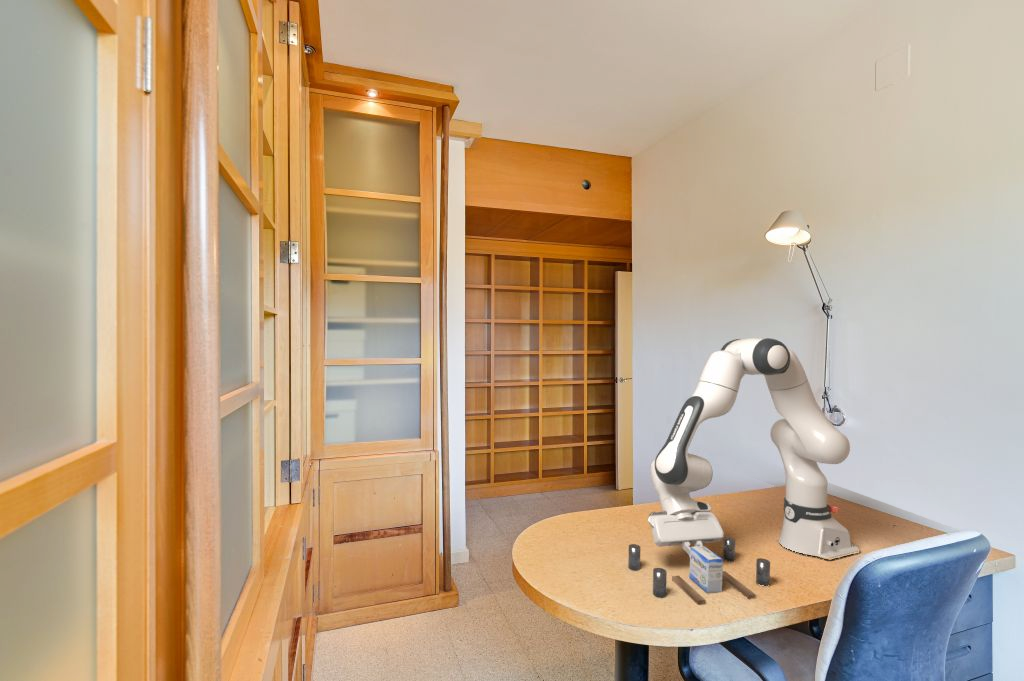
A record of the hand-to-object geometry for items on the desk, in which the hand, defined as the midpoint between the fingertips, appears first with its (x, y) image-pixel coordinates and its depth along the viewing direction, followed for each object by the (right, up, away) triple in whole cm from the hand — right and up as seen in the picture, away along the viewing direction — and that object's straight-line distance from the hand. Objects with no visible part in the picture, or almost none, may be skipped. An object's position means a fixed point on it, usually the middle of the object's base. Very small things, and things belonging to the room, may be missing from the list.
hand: (697, 559), depth 132 cm
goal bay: (+1, -5, -6) cm, 8 cm away
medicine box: (0, -5, -4) cm, 7 cm away
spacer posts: (0, -5, +1) cm, 5 cm away
